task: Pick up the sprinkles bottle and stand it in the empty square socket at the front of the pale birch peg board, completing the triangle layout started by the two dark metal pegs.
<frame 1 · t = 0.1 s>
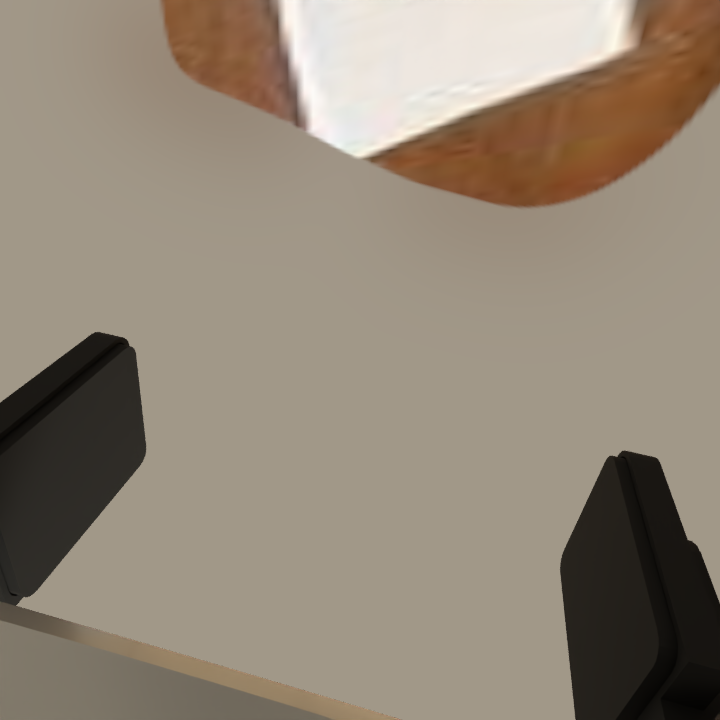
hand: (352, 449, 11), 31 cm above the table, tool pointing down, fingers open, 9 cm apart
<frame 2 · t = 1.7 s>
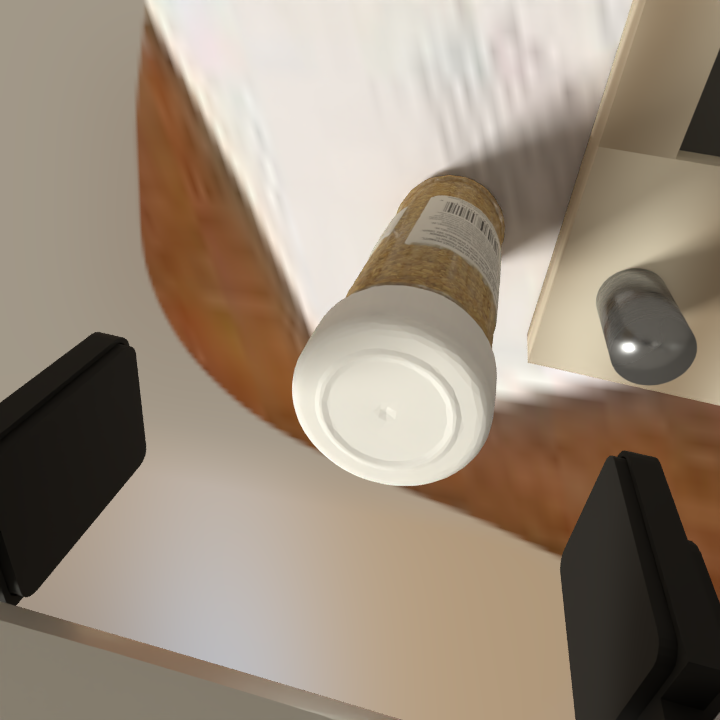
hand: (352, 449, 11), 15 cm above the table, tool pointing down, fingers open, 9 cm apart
sprinkles bottle: (451, 227, 24), on the table
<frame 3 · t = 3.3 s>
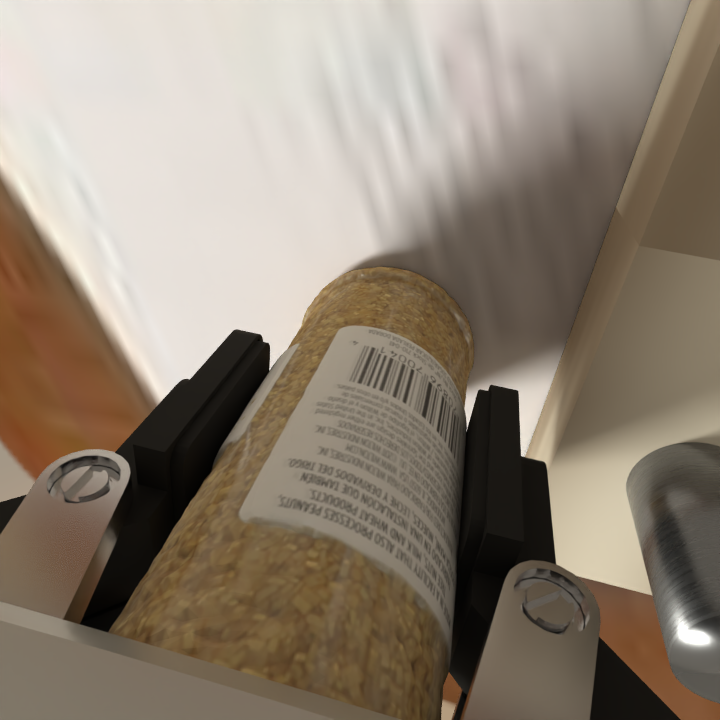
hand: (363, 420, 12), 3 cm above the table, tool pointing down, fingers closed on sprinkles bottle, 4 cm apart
sprinkles bottle: (391, 339, 15), on the table, touching gripper
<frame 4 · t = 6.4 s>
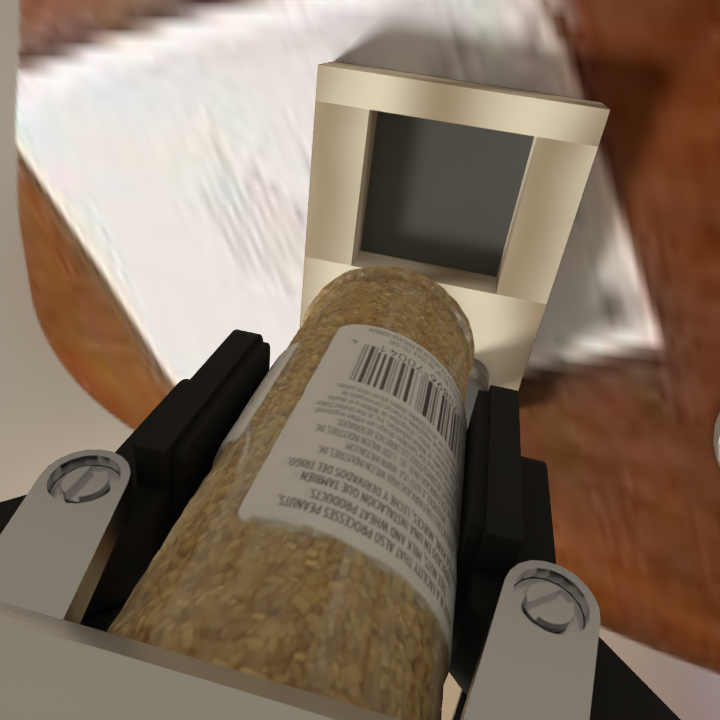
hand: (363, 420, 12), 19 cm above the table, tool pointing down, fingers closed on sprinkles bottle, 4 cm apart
peg board: (428, 259, 30), on the table
sprinkles bottle: (391, 339, 15), point 15 cm above the table, touching gripper
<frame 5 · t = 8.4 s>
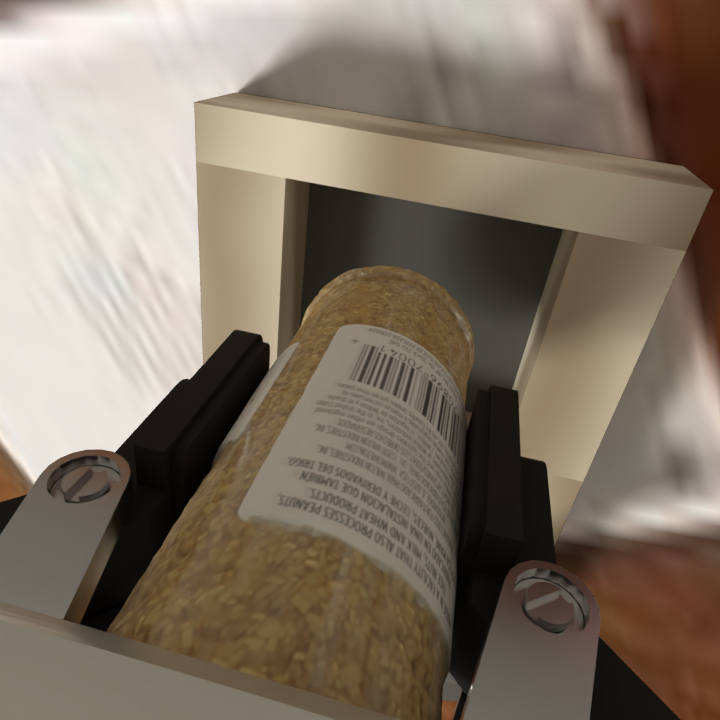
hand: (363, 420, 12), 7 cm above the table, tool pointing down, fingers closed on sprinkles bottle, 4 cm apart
peg board: (398, 388, 19), on the table
sprinkles bottle: (391, 338, 15), point 3 cm above the table, touching gripper
when the fingers open (5 cm above the table, at t = 9.7 s): sprinkles bottle stays where it is, resting on peg board.
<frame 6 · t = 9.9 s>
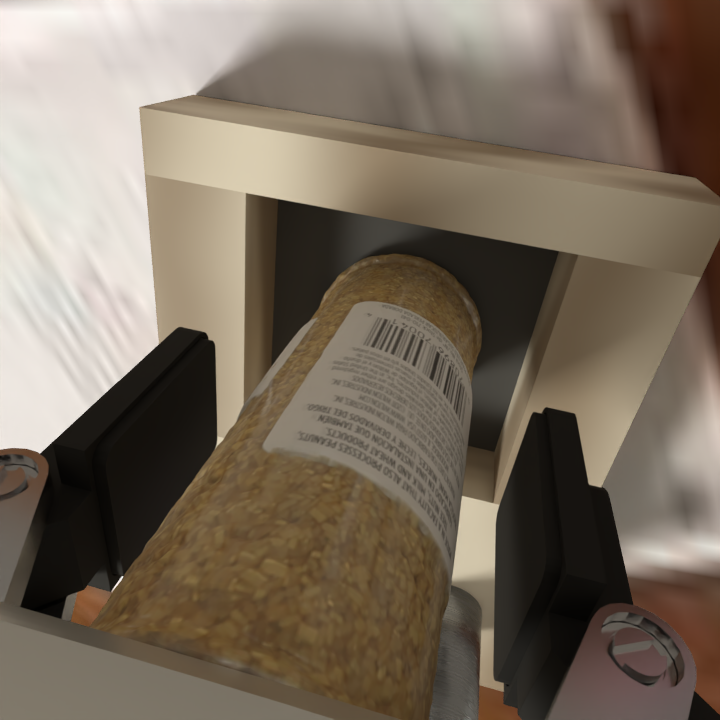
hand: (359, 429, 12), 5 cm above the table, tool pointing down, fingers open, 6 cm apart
peg board: (381, 417, 18), on the table
sprinkles bottle: (403, 325, 16), resting on peg board
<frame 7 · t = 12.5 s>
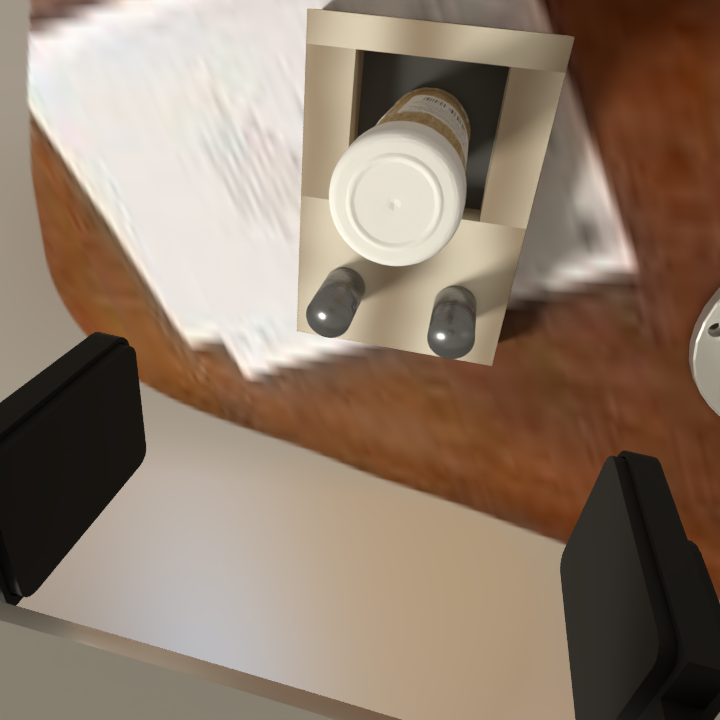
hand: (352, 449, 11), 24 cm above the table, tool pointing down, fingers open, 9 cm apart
peg board: (416, 197, 32), on the table
sprinkles bottle: (428, 133, 30), resting on peg board
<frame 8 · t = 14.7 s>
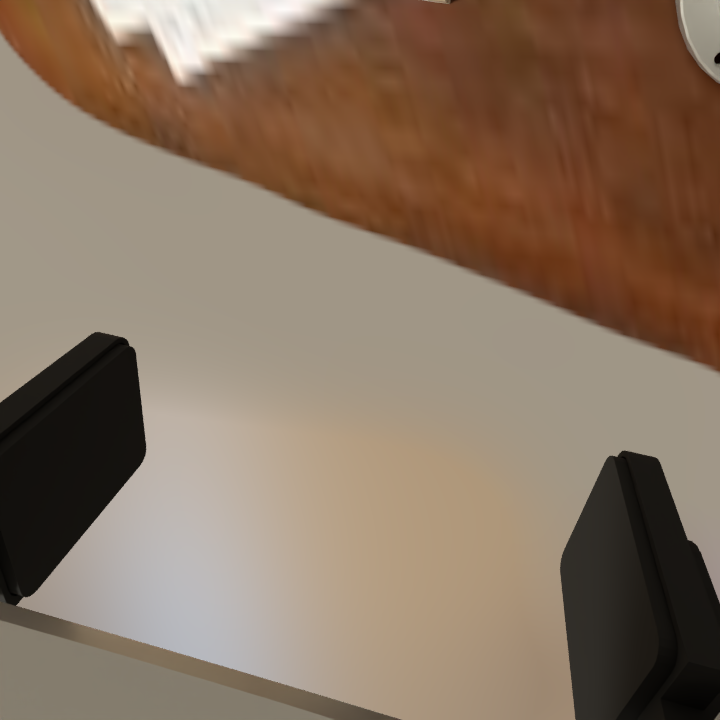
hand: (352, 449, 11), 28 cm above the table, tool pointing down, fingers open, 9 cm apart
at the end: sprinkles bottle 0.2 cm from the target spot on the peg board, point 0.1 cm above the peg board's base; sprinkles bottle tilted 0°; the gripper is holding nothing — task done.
